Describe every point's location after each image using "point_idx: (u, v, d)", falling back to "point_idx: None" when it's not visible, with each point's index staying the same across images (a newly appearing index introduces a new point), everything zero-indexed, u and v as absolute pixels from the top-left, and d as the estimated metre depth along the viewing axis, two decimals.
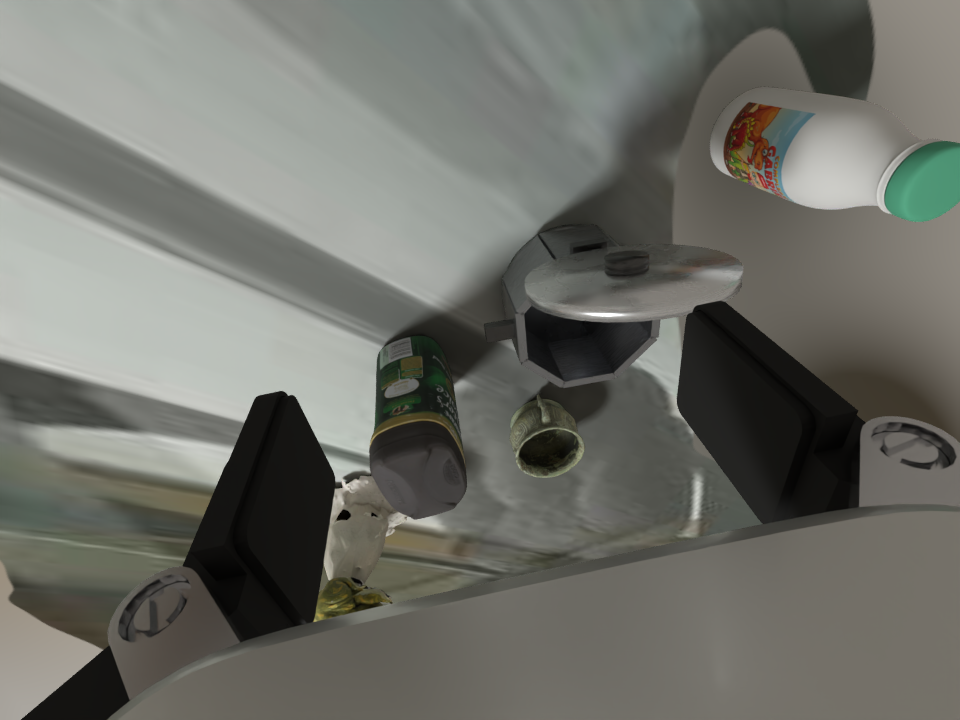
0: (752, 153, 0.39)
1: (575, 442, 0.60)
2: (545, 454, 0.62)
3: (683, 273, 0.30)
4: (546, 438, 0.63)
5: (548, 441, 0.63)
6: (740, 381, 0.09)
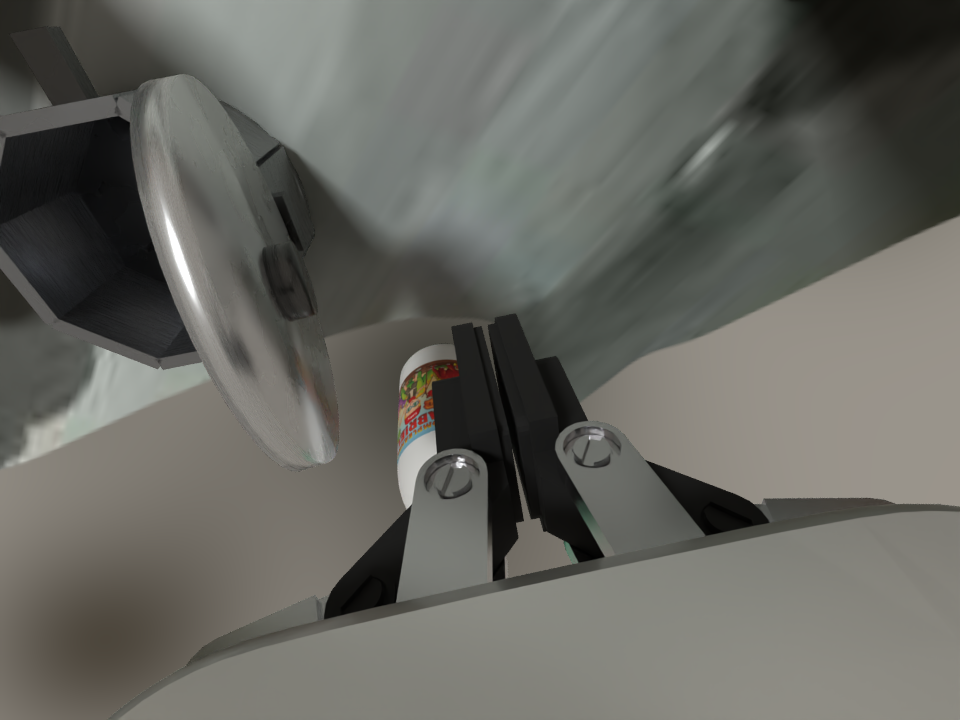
0: None
1: None
2: None
3: (303, 377, 0.18)
4: None
5: None
6: (504, 388, 0.10)
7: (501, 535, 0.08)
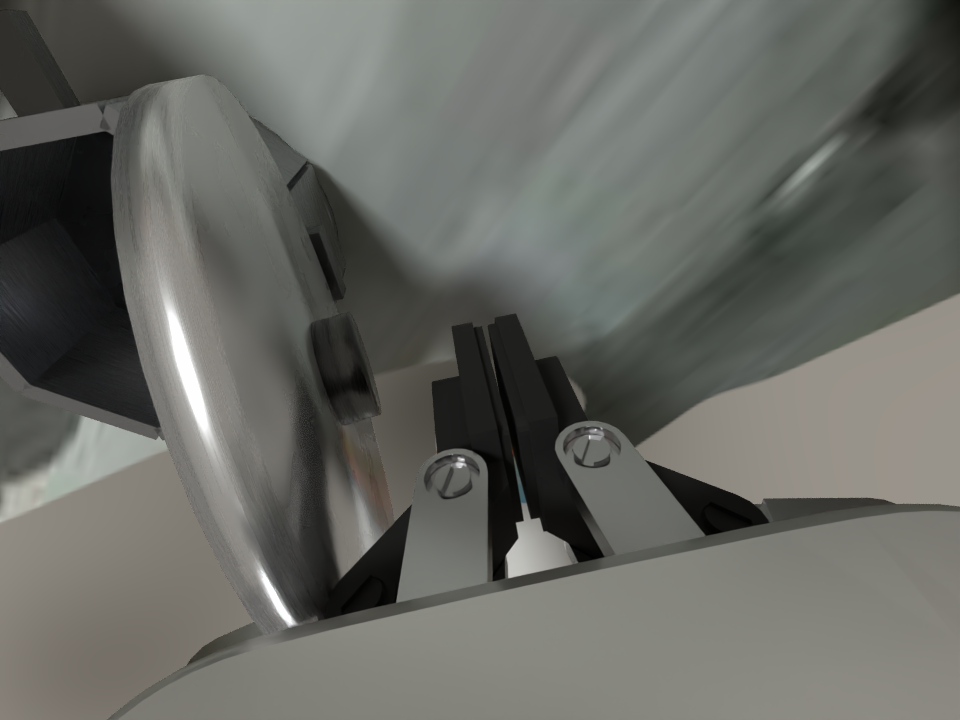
0: None
1: None
2: None
3: (367, 511, 0.12)
4: None
5: None
6: (504, 388, 0.10)
7: (501, 535, 0.08)
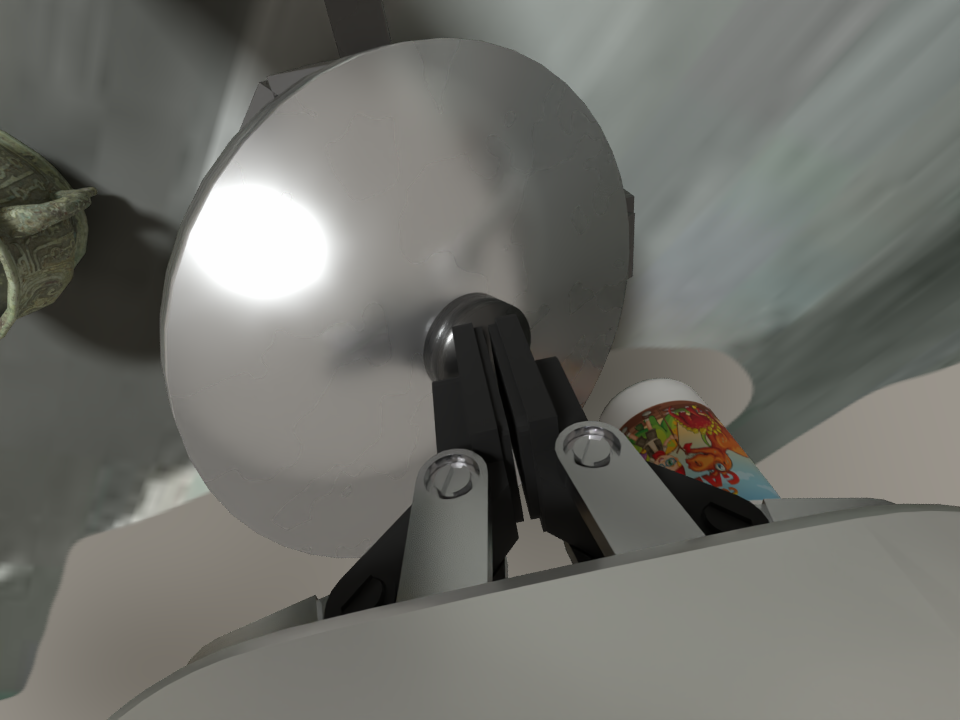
0: (700, 448, 0.27)
1: None
2: None
3: (410, 461, 0.14)
4: None
5: None
6: (504, 388, 0.10)
7: (501, 535, 0.08)
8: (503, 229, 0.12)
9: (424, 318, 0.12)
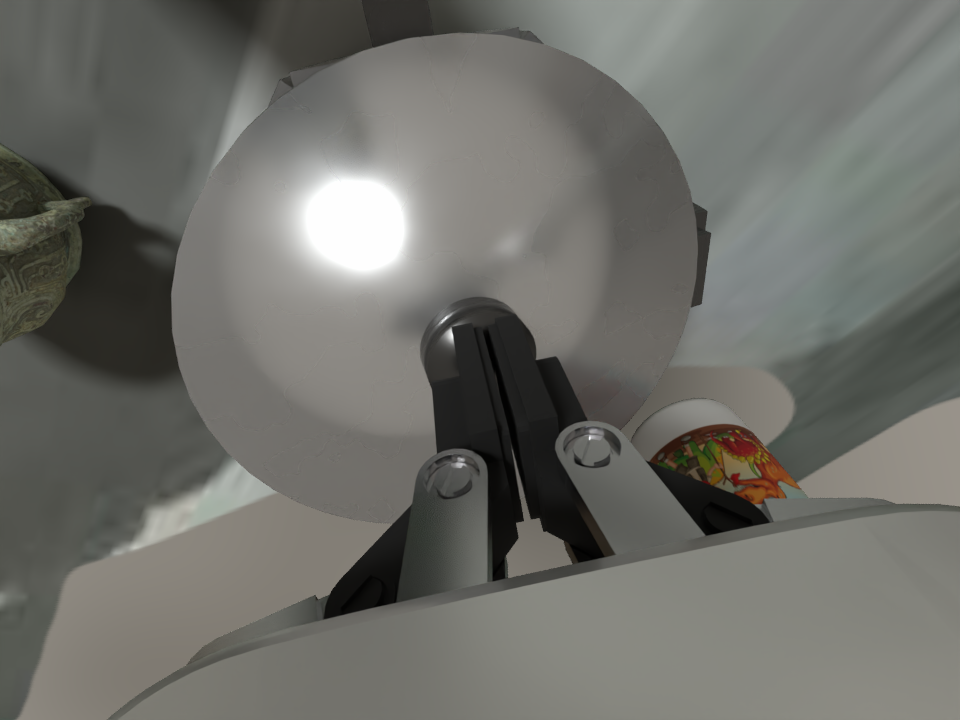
0: (749, 479, 0.24)
1: None
2: None
3: (402, 445, 0.14)
4: None
5: None
6: (504, 388, 0.10)
7: (501, 535, 0.08)
8: (522, 236, 0.12)
9: (422, 314, 0.12)
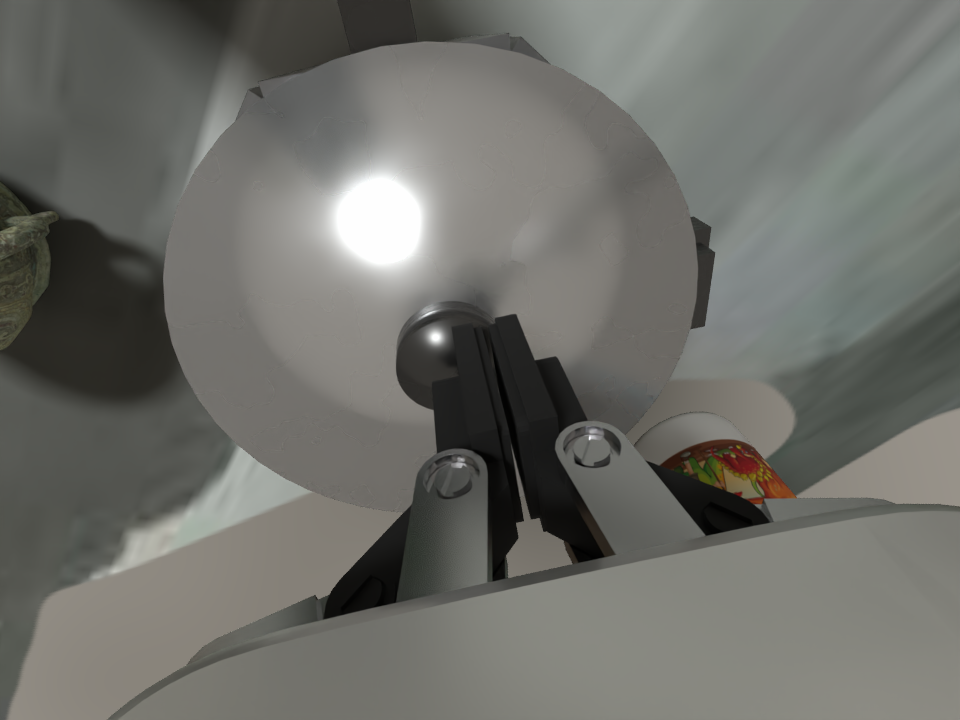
0: (752, 499, 0.24)
1: None
2: None
3: (381, 436, 0.15)
4: None
5: None
6: (504, 388, 0.10)
7: (501, 535, 0.08)
8: (499, 244, 0.12)
9: (398, 314, 0.12)
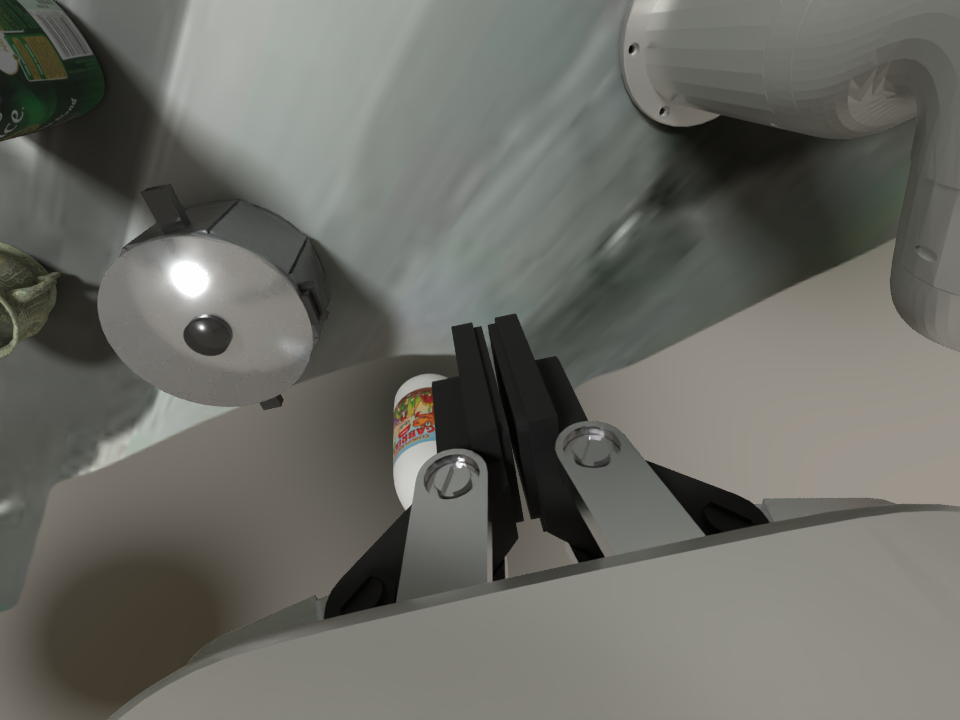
0: (423, 414, 0.45)
1: None
2: None
3: (192, 368, 0.36)
4: None
5: None
6: (504, 388, 0.10)
7: (501, 535, 0.08)
8: (217, 294, 0.33)
9: (186, 319, 0.34)
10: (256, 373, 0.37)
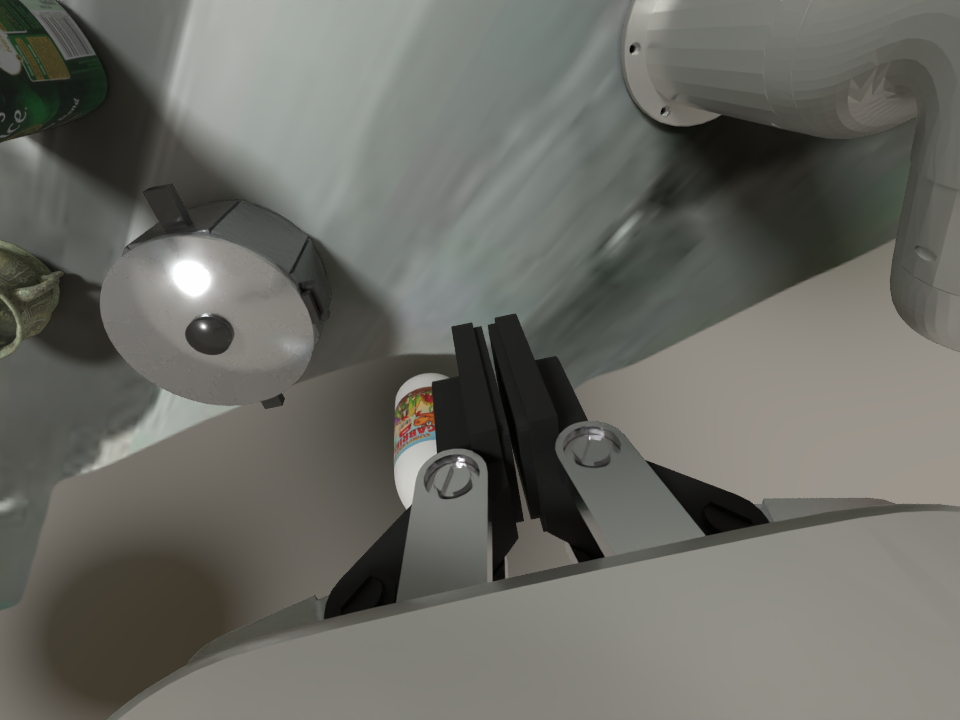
0: (424, 413, 0.45)
1: None
2: None
3: (194, 367, 0.36)
4: None
5: None
6: (504, 388, 0.10)
7: (501, 535, 0.08)
8: (218, 293, 0.33)
9: (187, 318, 0.34)
10: (257, 372, 0.37)
